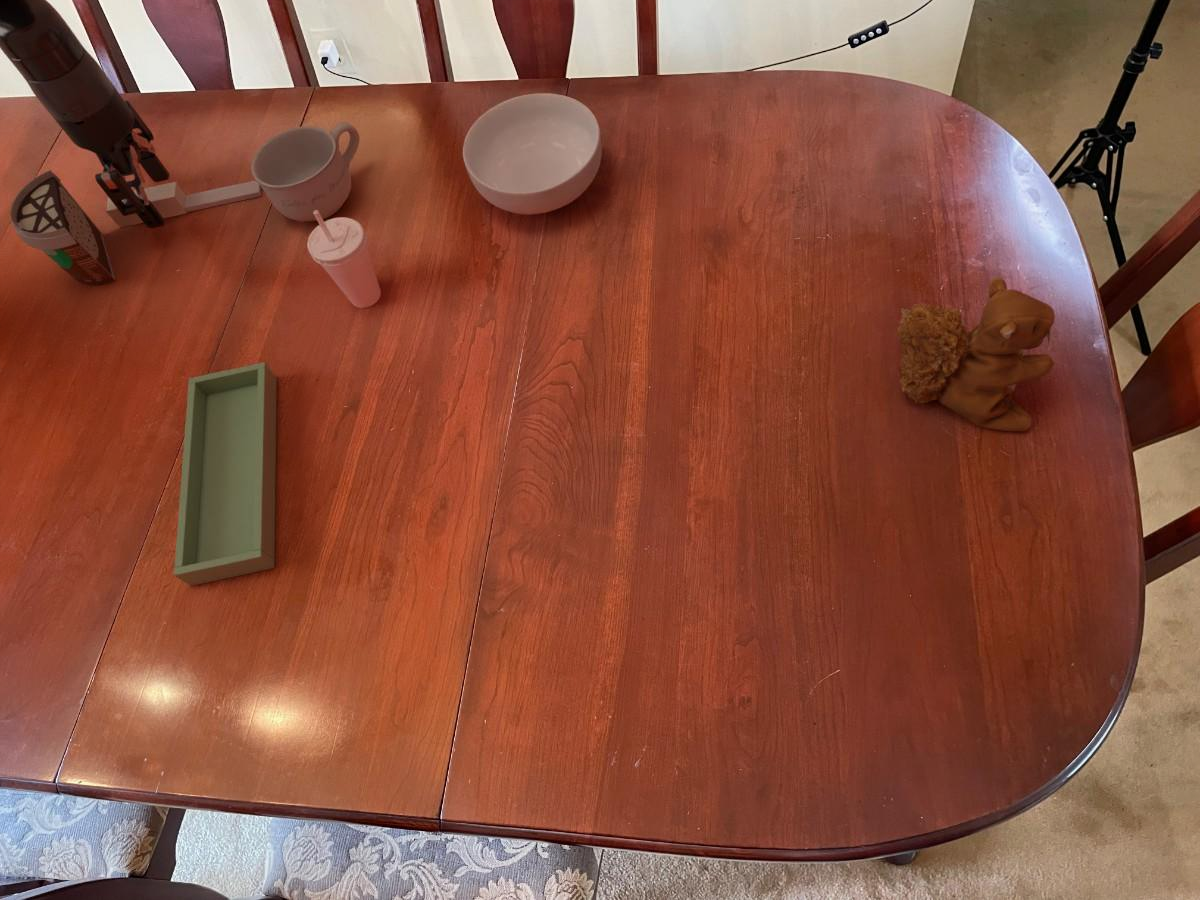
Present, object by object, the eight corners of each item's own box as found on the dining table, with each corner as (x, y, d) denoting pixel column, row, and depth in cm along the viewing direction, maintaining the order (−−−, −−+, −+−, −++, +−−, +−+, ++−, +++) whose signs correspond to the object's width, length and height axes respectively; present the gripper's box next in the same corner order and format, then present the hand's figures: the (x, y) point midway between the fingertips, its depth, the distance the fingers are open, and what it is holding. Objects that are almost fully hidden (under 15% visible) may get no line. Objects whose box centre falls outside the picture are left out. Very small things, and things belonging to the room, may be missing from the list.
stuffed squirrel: (1034, 435, 82) (1087, 356, 71) (883, 423, 85) (911, 344, 73) (1027, 352, 87) (1076, 265, 76) (884, 342, 89) (910, 256, 78)
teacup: (297, 247, 106) (268, 199, 99) (265, 198, 111) (235, 149, 104) (395, 195, 108) (373, 145, 101) (359, 149, 113) (337, 99, 106)
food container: (54, 245, 110) (-1, 187, 102) (100, 226, 111) (49, 167, 103) (69, 309, 104) (12, 252, 96) (117, 288, 105) (65, 230, 97)
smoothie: (328, 303, 100) (276, 218, 88) (363, 267, 103) (318, 178, 91) (367, 324, 98) (320, 239, 86) (403, 287, 100) (362, 199, 88)
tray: (274, 568, 84) (260, 556, 81) (189, 586, 84) (173, 575, 81) (276, 376, 96) (264, 361, 93) (202, 392, 96) (188, 377, 93)
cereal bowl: (482, 141, 111) (470, 96, 105) (608, 134, 110) (603, 87, 103) (468, 238, 103) (453, 195, 97) (603, 232, 101) (597, 187, 95)
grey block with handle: (119, 228, 111) (105, 211, 108) (122, 212, 112) (108, 195, 110) (261, 197, 111) (251, 179, 108) (262, 182, 112) (251, 165, 110)
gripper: (56, 64, 100) (137, 170, 114) (37, 145, 92) (126, 248, 106) (118, 50, 99) (191, 158, 114) (104, 130, 92) (184, 235, 106)
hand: (160, 202), depth 110 cm, fingers open, 8 cm apart
